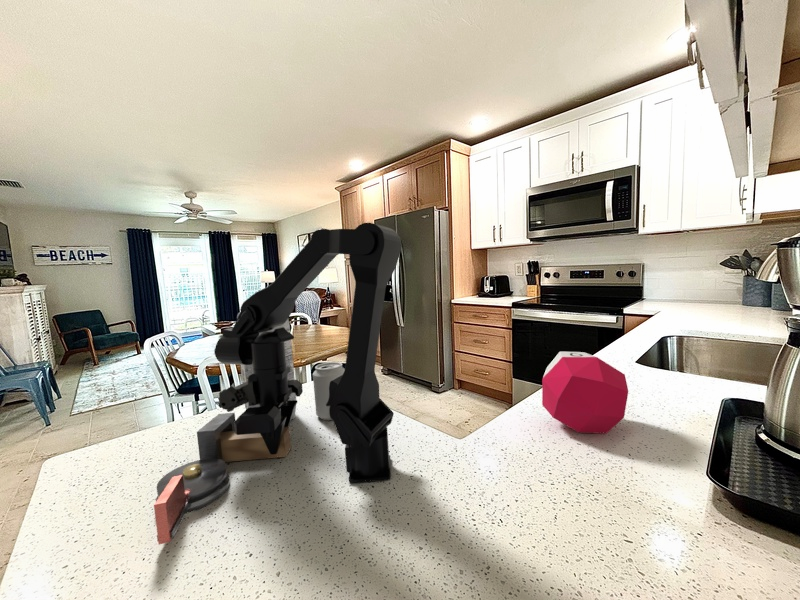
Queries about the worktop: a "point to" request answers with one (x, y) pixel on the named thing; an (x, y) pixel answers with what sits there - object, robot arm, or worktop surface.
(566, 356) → the decorative object
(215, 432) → the iron eye
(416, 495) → the worktop surface
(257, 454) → the brown rectangular bar
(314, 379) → the can
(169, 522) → the handwheel
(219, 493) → the disc
